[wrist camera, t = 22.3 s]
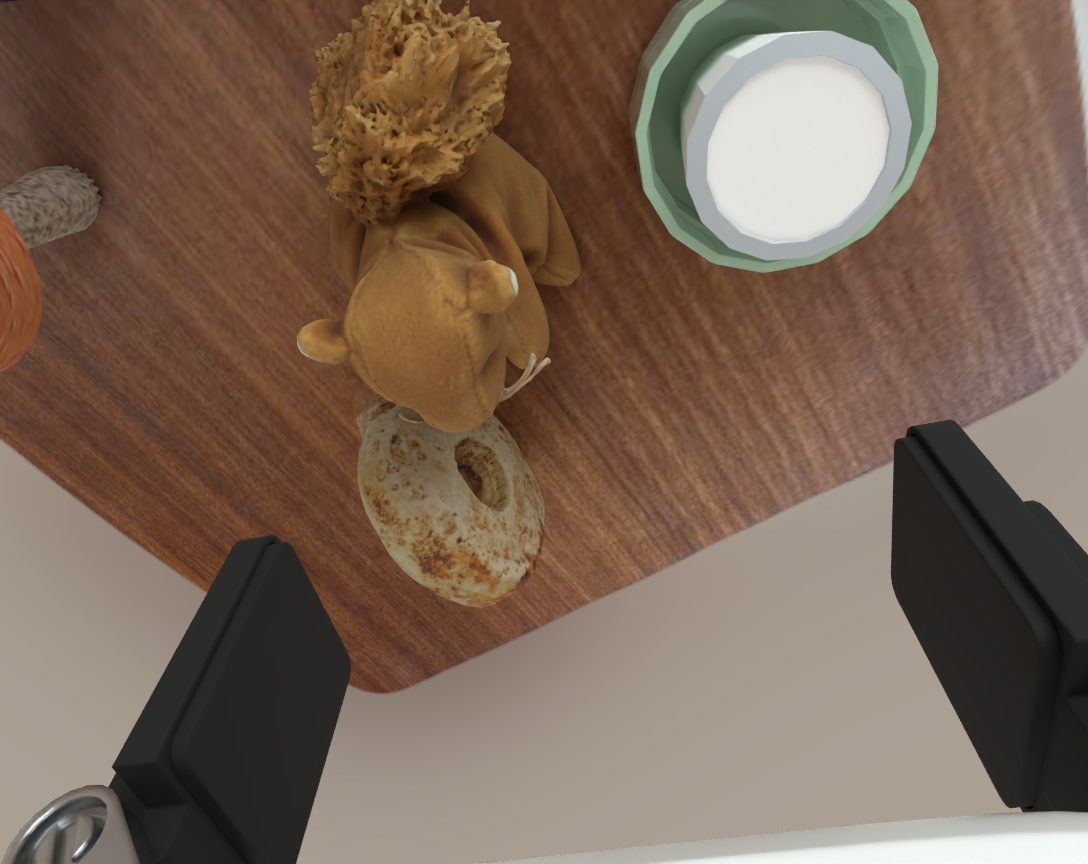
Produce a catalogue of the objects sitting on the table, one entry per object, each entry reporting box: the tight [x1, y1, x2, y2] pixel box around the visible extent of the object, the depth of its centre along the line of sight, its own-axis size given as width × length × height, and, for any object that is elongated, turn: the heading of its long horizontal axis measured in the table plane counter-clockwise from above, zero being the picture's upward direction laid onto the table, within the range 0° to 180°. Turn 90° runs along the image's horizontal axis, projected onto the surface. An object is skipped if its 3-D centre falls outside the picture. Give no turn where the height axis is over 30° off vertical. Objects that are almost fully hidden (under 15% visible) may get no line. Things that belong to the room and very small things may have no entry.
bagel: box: [356, 395, 545, 607], centre depth 34 cm, size 10×4×10 cm, turn 38°
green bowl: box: [628, 0, 938, 273], centre depth 28 cm, size 10×10×4 cm
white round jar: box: [680, 31, 912, 260], centre depth 26 cm, size 7×7×7 cm
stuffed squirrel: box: [297, 0, 581, 433], centre depth 26 cm, size 10×14×13 cm
